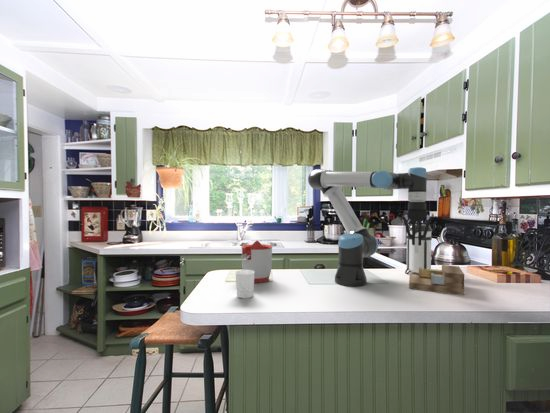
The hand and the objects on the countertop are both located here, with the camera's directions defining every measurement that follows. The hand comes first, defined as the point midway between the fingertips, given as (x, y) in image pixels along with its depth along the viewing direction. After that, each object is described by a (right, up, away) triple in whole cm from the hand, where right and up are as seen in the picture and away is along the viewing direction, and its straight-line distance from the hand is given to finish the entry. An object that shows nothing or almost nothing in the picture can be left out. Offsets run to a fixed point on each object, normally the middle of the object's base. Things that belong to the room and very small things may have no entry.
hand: (416, 252), depth 129 cm
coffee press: (+15, -16, +27) cm, 35 cm away
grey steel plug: (+10, -13, -5) cm, 17 cm away
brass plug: (+11, -13, +7) cm, 18 cm away
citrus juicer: (-75, -16, +11) cm, 78 cm away
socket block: (+9, -16, +2) cm, 19 cm away
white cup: (-78, -16, -12) cm, 80 cm away
